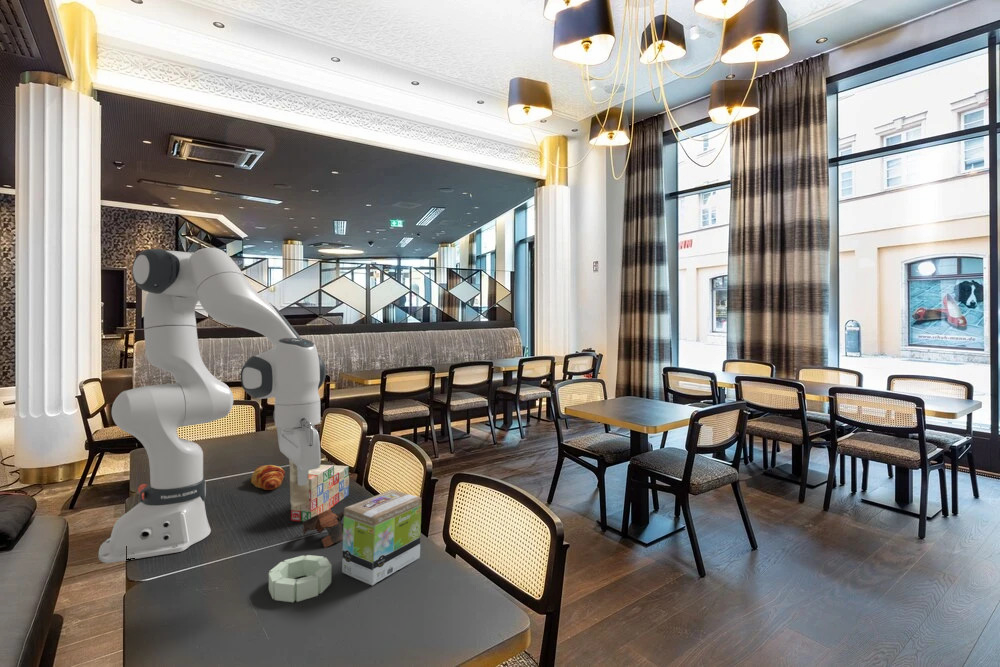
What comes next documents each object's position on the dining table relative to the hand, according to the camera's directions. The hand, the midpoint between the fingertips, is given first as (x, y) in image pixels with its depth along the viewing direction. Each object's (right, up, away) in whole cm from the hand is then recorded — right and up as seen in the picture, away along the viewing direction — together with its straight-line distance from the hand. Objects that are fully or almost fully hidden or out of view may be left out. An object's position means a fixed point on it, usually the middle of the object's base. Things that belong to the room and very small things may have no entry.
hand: (299, 481), depth 101 cm
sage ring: (0, -22, 0) cm, 22 cm away
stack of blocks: (-11, -21, +42) cm, 48 cm away
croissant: (-36, -20, +61) cm, 74 cm away
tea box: (+15, -22, +8) cm, 28 cm away
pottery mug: (-2, -21, +22) cm, 30 cm away
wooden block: (0, -5, 0) cm, 5 cm away
